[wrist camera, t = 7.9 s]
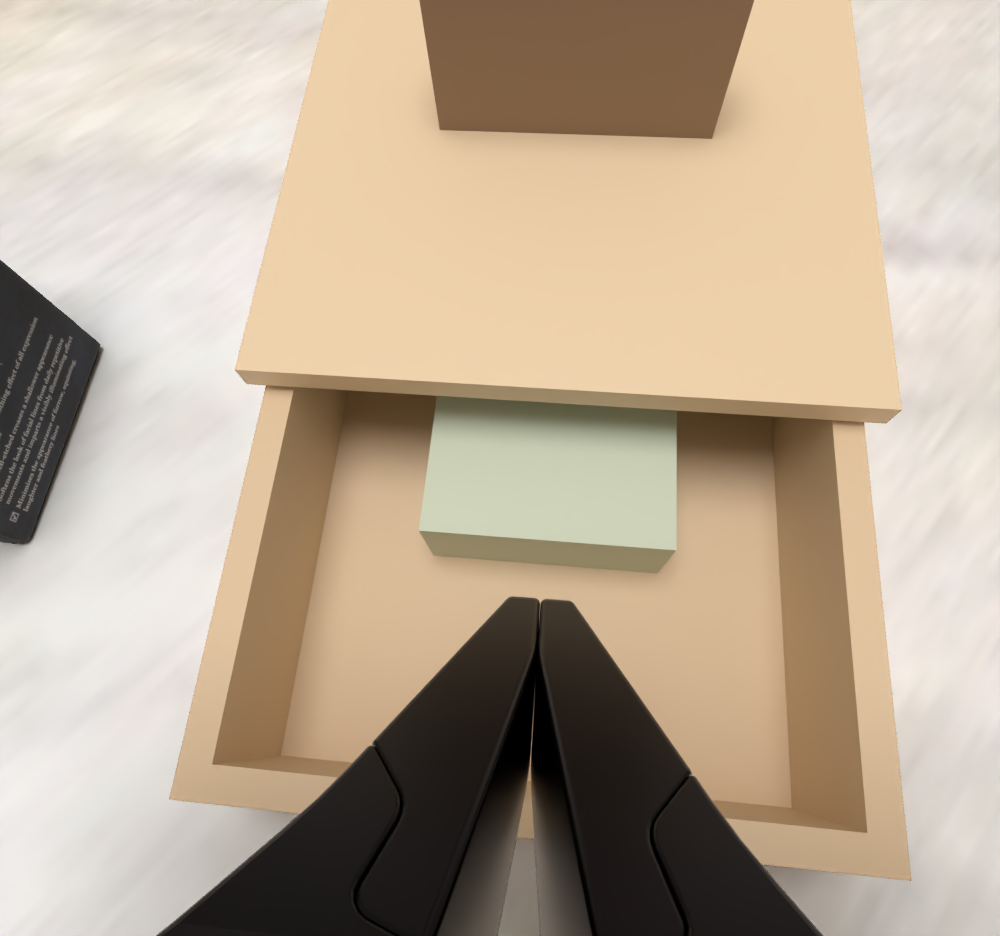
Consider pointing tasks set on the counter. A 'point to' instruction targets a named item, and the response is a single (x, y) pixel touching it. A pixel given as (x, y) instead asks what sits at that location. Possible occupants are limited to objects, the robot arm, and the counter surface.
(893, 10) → the counter surface
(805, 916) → the robot arm
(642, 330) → the lid
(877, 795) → the box
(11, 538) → the box
